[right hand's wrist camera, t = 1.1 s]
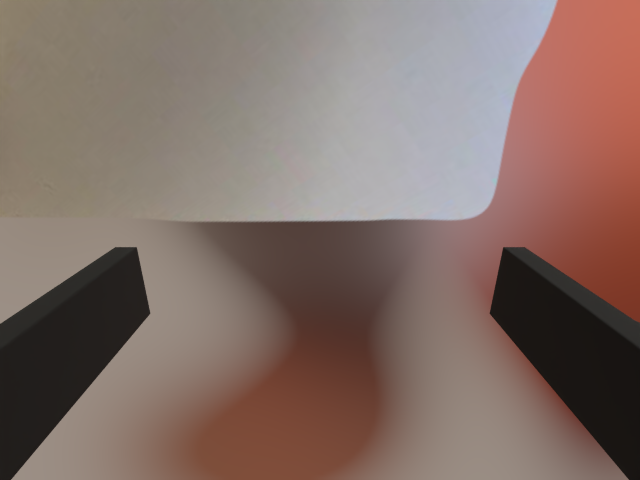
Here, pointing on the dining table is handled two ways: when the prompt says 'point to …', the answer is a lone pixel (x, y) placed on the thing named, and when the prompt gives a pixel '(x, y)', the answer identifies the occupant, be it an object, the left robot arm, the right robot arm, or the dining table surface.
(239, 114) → the dining table surface
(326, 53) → the dining table surface
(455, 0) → the dining table surface
